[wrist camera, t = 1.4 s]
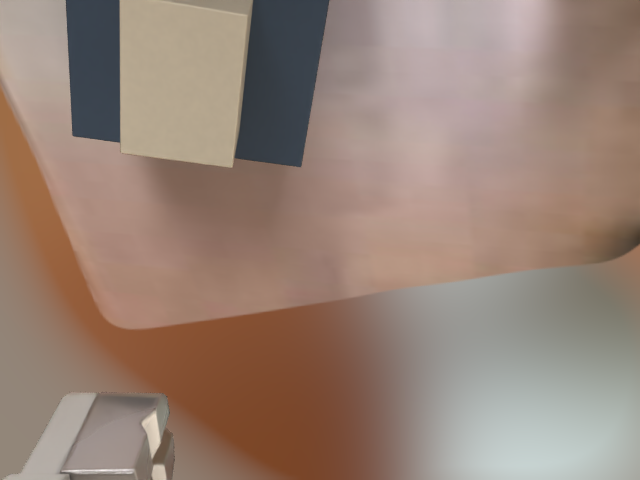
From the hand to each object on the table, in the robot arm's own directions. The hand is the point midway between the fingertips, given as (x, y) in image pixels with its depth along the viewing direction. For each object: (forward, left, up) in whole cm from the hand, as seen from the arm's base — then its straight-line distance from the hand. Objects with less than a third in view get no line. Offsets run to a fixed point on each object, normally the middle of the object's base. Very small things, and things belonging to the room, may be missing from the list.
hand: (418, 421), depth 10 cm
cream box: (+1, -6, -22) cm, 23 cm away
